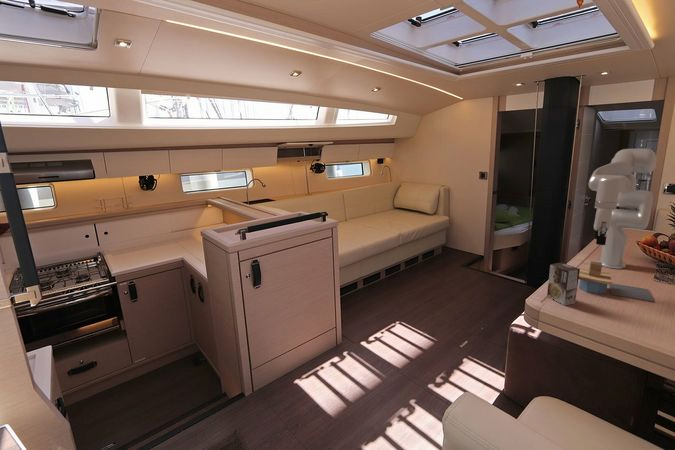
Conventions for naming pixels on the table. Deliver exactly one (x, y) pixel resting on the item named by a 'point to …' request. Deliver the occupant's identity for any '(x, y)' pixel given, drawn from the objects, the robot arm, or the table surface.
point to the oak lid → (595, 274)
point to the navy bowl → (592, 287)
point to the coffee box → (563, 283)
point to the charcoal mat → (631, 292)
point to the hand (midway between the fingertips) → (599, 241)
